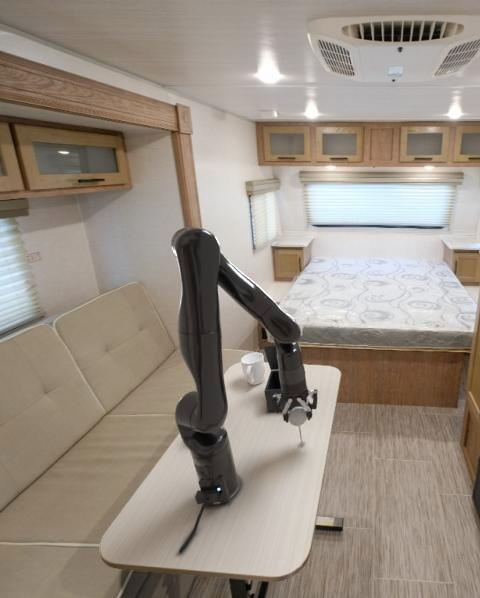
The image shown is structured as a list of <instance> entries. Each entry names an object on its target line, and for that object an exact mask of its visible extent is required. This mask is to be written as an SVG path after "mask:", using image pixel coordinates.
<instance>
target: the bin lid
mask: <svg viewBox="0 0 480 598" xmlns="http://www.w3.org/2000/svg"><path fill="white" fill-rule="evenodd" d="M262 347H263V350H264V354H265V357H266V359H267V363H268V366H269V370H270V371H272V370H279V365H278V359H277V350H276V346H275V343H273V344H263V346H262Z"/></svg>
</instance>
